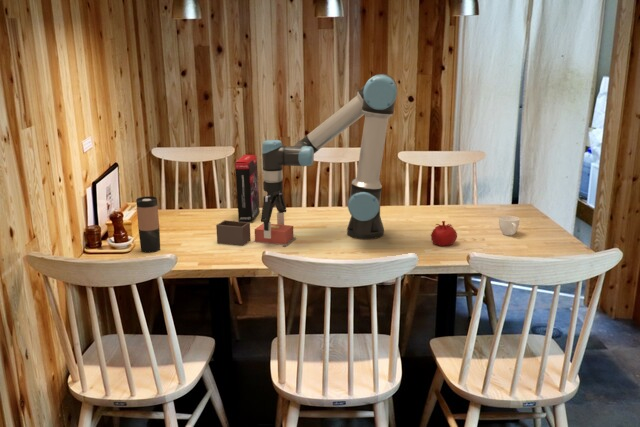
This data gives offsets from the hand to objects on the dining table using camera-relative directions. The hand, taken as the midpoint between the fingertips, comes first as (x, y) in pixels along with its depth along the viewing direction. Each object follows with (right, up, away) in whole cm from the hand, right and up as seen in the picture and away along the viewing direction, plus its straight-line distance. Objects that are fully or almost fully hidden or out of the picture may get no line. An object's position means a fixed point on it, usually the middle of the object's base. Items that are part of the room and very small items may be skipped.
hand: (274, 233), depth 247 cm
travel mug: (-47, -6, -8) cm, 48 cm away
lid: (0, -3, +1) cm, 3 cm away
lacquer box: (-16, -4, -2) cm, 16 cm away
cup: (+95, -1, +7) cm, 95 cm away
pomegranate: (+66, -4, -3) cm, 66 cm away
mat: (0, -3, +1) cm, 3 cm away
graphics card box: (-14, +6, +34) cm, 37 cm away
